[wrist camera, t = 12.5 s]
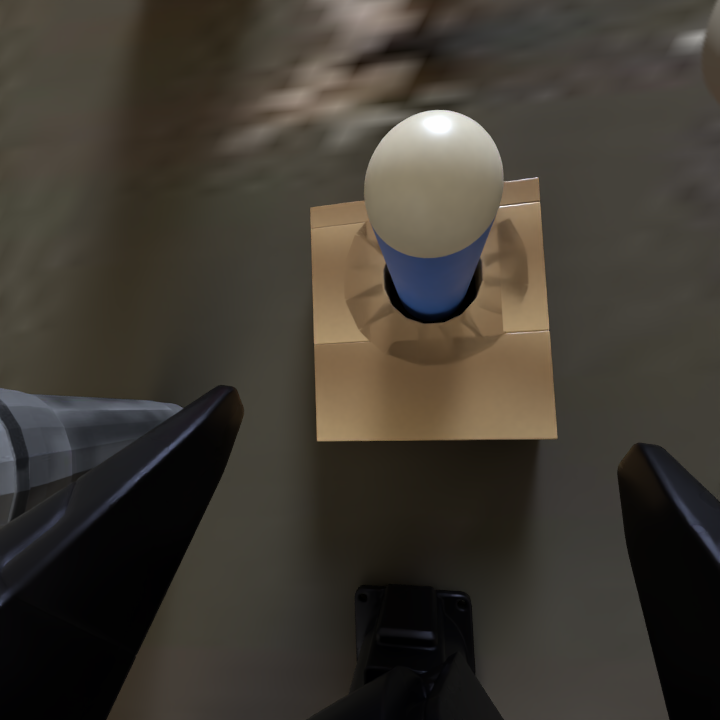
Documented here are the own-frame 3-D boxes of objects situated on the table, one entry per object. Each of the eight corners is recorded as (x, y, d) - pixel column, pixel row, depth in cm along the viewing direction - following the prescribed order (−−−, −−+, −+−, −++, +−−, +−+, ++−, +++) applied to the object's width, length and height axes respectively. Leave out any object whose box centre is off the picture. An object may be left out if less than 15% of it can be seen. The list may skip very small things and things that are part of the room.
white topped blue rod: (468, 319, 22) (524, 219, 9) (399, 323, 23) (353, 238, 9) (464, 252, 22) (513, 56, 9) (397, 258, 23) (348, 87, 10)
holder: (540, 431, 21) (557, 439, 18) (331, 434, 23) (316, 441, 20) (524, 200, 22) (538, 172, 19) (324, 225, 24) (309, 203, 21)
